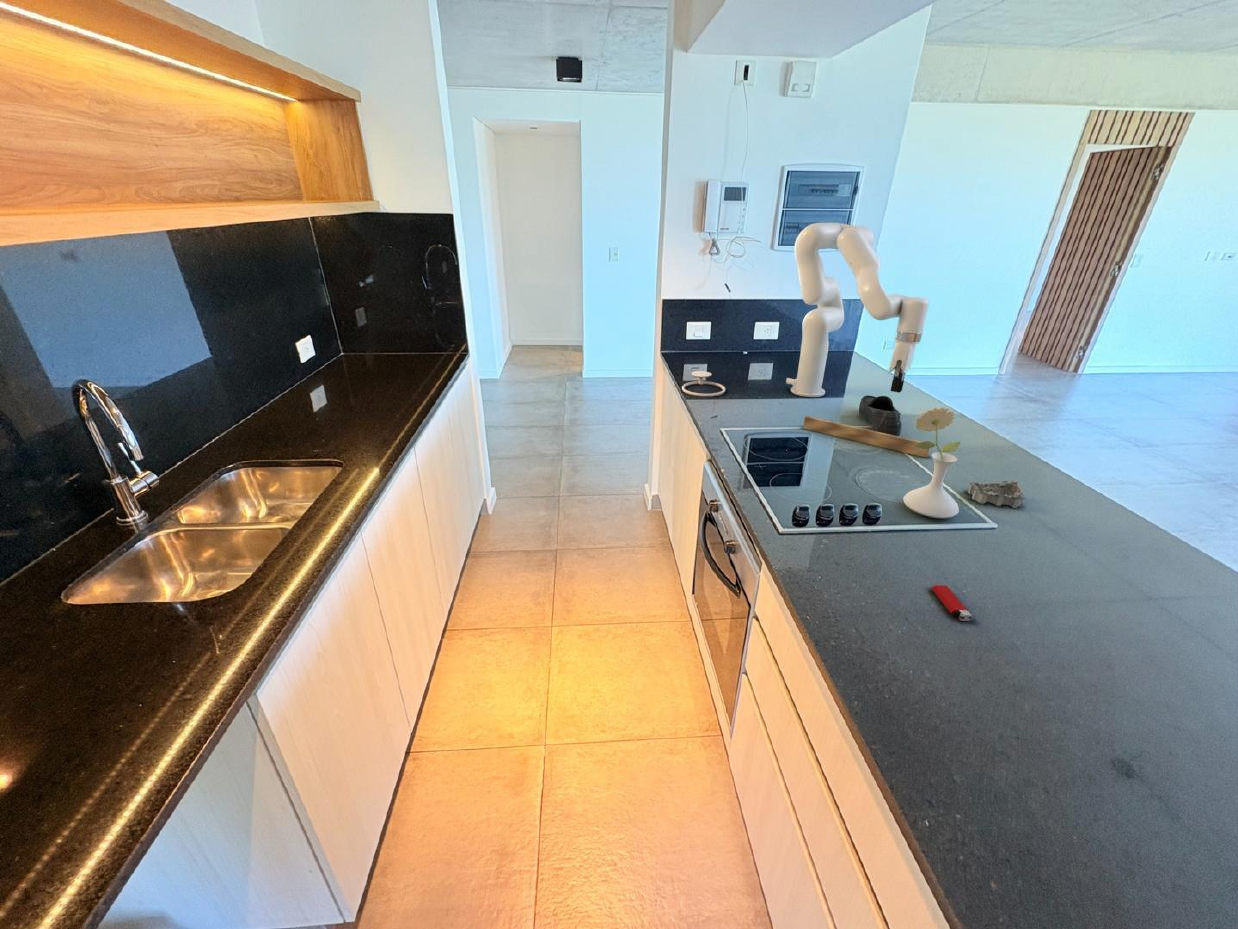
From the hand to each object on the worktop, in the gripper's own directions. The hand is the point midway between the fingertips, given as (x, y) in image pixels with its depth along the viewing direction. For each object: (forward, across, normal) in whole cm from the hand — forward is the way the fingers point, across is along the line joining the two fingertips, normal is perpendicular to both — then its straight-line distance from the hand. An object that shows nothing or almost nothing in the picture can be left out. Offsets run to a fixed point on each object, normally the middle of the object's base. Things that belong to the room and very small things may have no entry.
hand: (895, 391), depth 179 cm
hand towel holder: (+8, +17, -65) cm, 68 cm away
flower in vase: (+9, +65, +24) cm, 70 cm away
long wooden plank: (+8, +32, 0) cm, 33 cm away
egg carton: (+9, +49, +36) cm, 61 cm away
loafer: (+8, +14, 0) cm, 16 cm away
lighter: (+9, +99, +34) cm, 105 cm away
